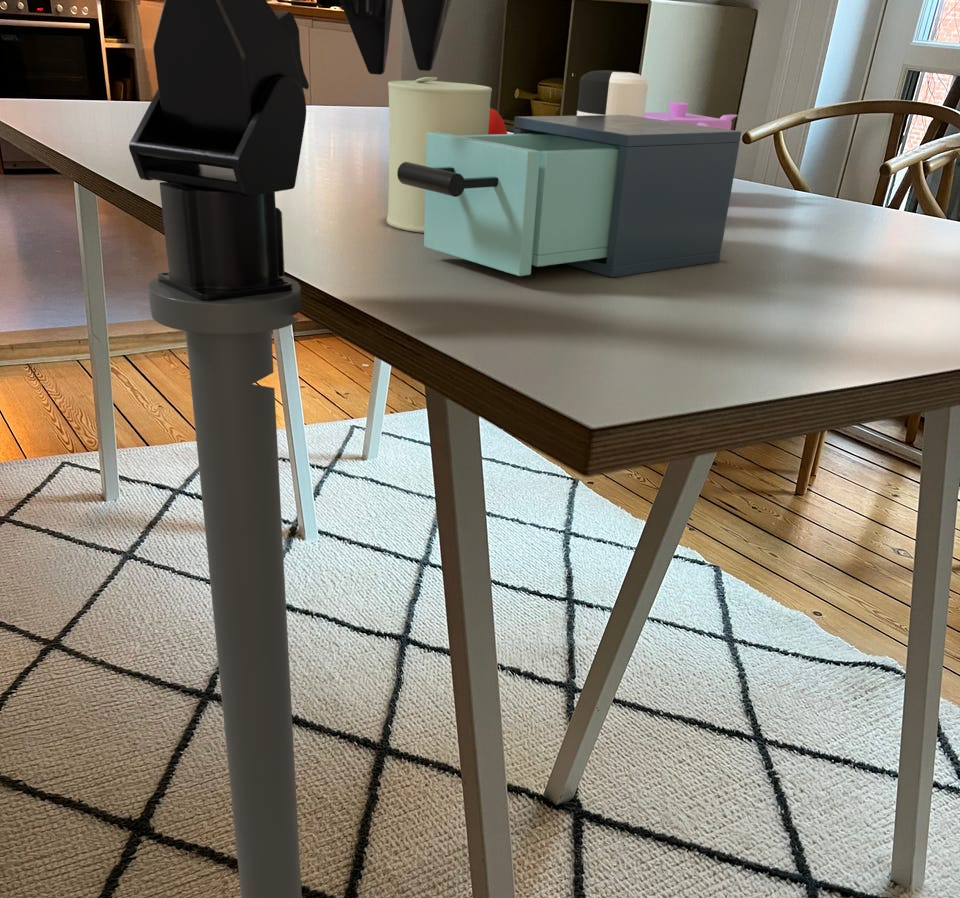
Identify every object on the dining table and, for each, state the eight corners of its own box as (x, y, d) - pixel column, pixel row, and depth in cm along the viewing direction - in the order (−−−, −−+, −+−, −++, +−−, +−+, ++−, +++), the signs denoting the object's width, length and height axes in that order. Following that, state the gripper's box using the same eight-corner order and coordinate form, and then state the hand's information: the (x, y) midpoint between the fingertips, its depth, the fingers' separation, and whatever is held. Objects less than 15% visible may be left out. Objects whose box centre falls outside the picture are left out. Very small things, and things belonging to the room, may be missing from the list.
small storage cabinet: (611, 277, 80) (629, 135, 74) (505, 247, 87) (514, 116, 82) (719, 261, 87) (741, 131, 82) (612, 234, 95) (627, 114, 90)
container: (546, 213, 103) (558, 67, 96) (592, 207, 108) (607, 68, 101) (606, 226, 99) (624, 74, 92) (651, 219, 104) (671, 74, 97)
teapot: (683, 185, 127) (697, 97, 122) (758, 202, 118) (775, 108, 113) (567, 188, 119) (576, 94, 114) (636, 208, 109) (650, 106, 104)
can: (453, 213, 100) (458, 75, 94) (503, 231, 93) (513, 84, 87) (369, 218, 96) (369, 73, 89) (416, 236, 89) (419, 81, 83)
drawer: (469, 283, 71) (475, 153, 67) (375, 252, 78) (375, 133, 74) (633, 260, 81) (648, 146, 77) (536, 234, 88) (545, 129, 84)
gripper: (470, -224, 58) (459, 86, 66) (558, -170, 73) (539, 76, 81) (297, -224, 61) (306, 73, 69) (415, -173, 76) (411, 66, 84)
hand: (401, 72), depth 76 cm, fingers open, 9 cm apart
